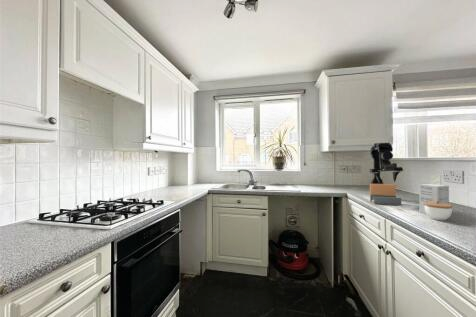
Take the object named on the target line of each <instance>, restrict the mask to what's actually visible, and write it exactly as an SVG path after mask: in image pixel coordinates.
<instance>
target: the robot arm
mask: <svg viewBox="0 0 476 317" xmlns="http://www.w3.org/2000/svg"><path fill="white" fill-rule="evenodd" d="M393 151H394V148H393V146H392V144H391V143H390V142H376V143H374V144H373V146H371V148H370V150H369V155H370V157H371V159H372V160H373V168H370V169H369V173H371V174H373V178H372V179H371V182H370V184H384V181H383V179H382V178H381V172H392V178H393V182H396V181H397V177H398V175H399V173H401V172H404V168H403V167H402V166H398V164H397V163H396V162H394V163H391V160H392V159H393V157H394V153H393Z"/></svg>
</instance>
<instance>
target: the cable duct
mask: <svg viewBox="0 0 476 317" xmlns="http://www.w3.org/2000/svg"><path fill="white" fill-rule="evenodd" d="M369 201H371V203H372V204H373V203H374V204H373V205H388V206H402V198H401V197H397V196H388V195H370V194H369Z"/></svg>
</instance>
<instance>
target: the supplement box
mask: <svg viewBox="0 0 476 317" xmlns="http://www.w3.org/2000/svg"><path fill="white" fill-rule="evenodd" d="M418 186H419V187H418V188H419V190H418V191H419V195H418V196H419V197H418V198H419V213H421V214H424V215H425V214H426V212H425V209H424V202H436V201H439V203H444V204H449V205H450V185H447V184H437V183H422V184H419V185H418ZM426 215H427V214H426Z"/></svg>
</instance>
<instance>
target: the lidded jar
mask: <svg viewBox="0 0 476 317" xmlns="http://www.w3.org/2000/svg"><path fill="white" fill-rule="evenodd" d="M424 209H425V212H426V215H427V216H428V217H429V218H430V219H432V220H436V221H447V220H448V219H449V218H450V217H451V216H452V212H453V205H451V204H450V203H449V204H444V203H439V201H436V202H424Z"/></svg>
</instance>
